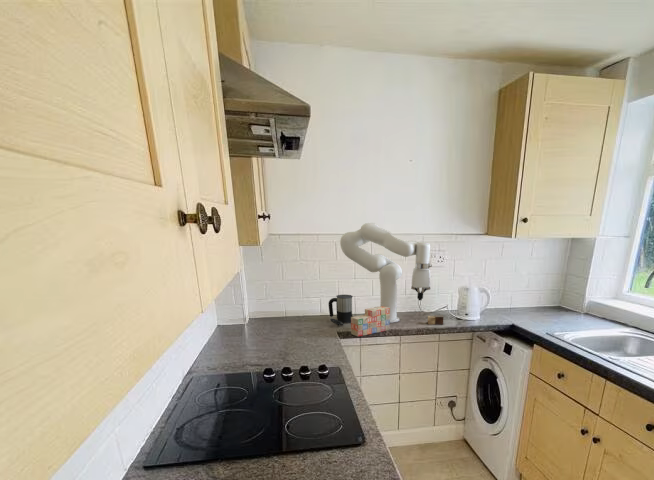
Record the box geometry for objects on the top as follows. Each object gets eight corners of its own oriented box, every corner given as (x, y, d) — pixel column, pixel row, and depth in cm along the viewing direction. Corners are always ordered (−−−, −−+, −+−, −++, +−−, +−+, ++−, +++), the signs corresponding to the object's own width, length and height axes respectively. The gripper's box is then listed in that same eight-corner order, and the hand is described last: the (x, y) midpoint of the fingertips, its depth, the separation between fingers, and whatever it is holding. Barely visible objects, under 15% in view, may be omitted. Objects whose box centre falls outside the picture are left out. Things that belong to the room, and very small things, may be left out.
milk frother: (351, 318, 244) (350, 293, 238) (356, 325, 230) (356, 299, 224) (327, 320, 240) (326, 295, 234) (331, 327, 226) (330, 300, 220)
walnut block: (435, 324, 232) (435, 316, 231) (434, 322, 237) (434, 315, 235) (443, 324, 232) (443, 316, 231) (442, 322, 237) (442, 315, 235)
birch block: (428, 324, 233) (428, 317, 231) (427, 322, 236) (427, 315, 235) (435, 324, 233) (435, 317, 231) (434, 322, 236) (434, 315, 235)
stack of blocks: (358, 337, 209) (357, 313, 204) (351, 334, 214) (350, 311, 209) (389, 330, 222) (390, 307, 217) (382, 327, 226) (382, 305, 221)
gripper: (434, 265, 225) (432, 298, 233) (408, 265, 225) (406, 298, 233) (436, 267, 219) (434, 301, 226) (408, 267, 218) (407, 301, 226)
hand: (420, 299), depth 229 cm, fingers closed
